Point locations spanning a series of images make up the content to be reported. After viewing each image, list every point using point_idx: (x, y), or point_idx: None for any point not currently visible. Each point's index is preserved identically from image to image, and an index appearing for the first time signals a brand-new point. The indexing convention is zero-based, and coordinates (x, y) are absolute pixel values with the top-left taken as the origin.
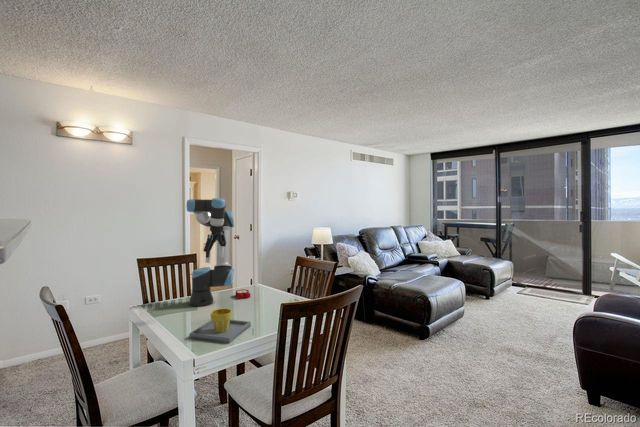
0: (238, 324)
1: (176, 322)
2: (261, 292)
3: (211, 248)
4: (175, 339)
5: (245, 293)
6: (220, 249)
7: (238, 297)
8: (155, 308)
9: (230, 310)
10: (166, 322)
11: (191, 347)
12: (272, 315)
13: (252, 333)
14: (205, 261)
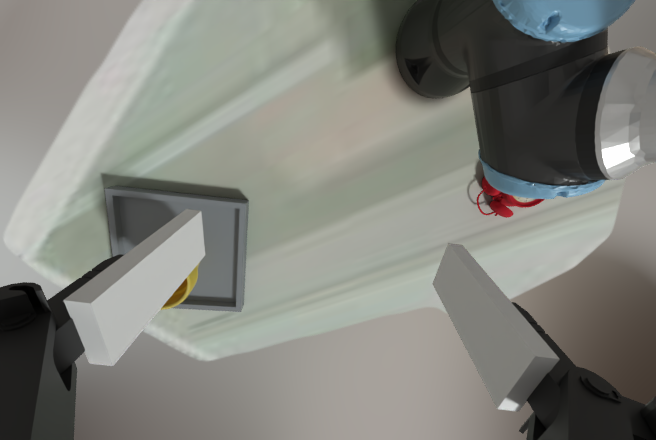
0: (234, 278)
1: (218, 65)
2: (555, 229)
3: (67, 437)
4: (92, 147)
5: (508, 201)
6: (484, 327)
7: (484, 181)
8: None
9: (178, 301)
10: (208, 22)
11: (66, 221)
12: (330, 327)
13: (200, 323)
14: (180, 213)
